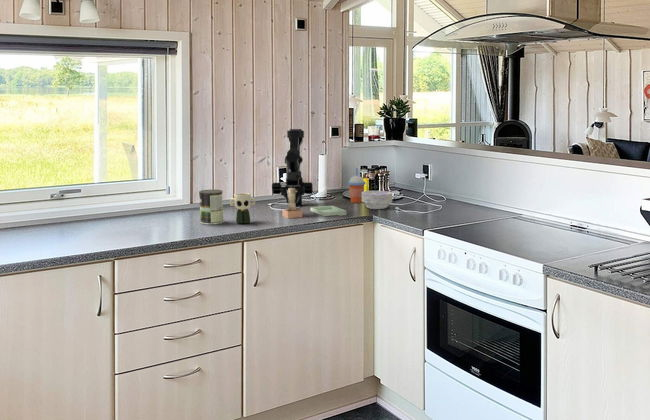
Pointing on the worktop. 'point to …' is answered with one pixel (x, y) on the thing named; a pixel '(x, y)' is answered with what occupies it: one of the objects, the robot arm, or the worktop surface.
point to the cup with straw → (356, 188)
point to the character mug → (242, 206)
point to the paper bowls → (377, 199)
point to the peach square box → (292, 213)
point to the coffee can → (211, 207)
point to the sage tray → (328, 210)
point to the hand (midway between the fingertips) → (291, 202)
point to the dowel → (292, 199)
